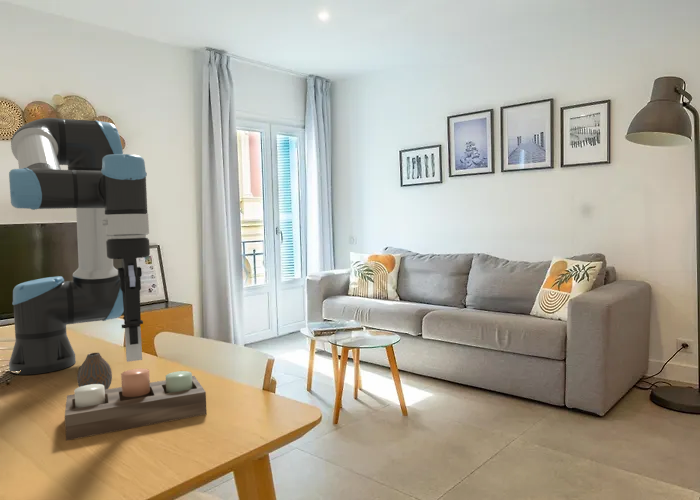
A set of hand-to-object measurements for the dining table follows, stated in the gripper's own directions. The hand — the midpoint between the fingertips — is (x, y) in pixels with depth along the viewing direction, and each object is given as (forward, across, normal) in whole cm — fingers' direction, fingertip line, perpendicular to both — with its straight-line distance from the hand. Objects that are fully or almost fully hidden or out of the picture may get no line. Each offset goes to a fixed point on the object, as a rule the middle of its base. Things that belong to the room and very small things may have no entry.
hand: (134, 359), depth 101 cm
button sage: (+8, 0, +8) cm, 12 cm away
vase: (+11, -20, -7) cm, 24 cm away
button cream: (+8, 0, -8) cm, 12 cm away
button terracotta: (+7, 0, 0) cm, 7 cm away
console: (+11, 0, 0) cm, 11 cm away
